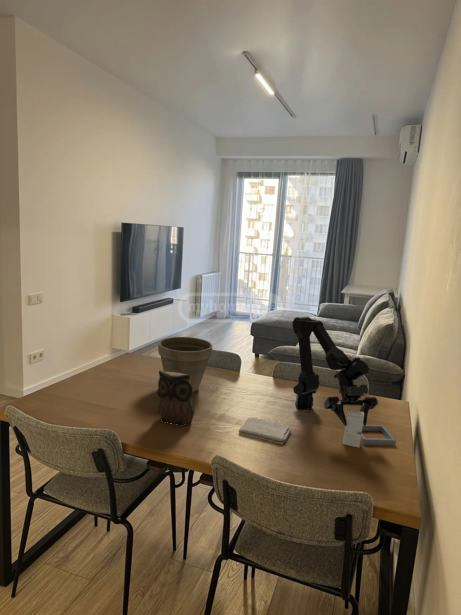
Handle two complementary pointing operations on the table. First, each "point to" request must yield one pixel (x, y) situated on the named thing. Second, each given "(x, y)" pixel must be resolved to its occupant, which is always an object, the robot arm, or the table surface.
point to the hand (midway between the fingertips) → (355, 425)
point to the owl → (175, 398)
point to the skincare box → (353, 428)
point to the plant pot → (185, 357)
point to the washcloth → (265, 430)
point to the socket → (376, 441)
